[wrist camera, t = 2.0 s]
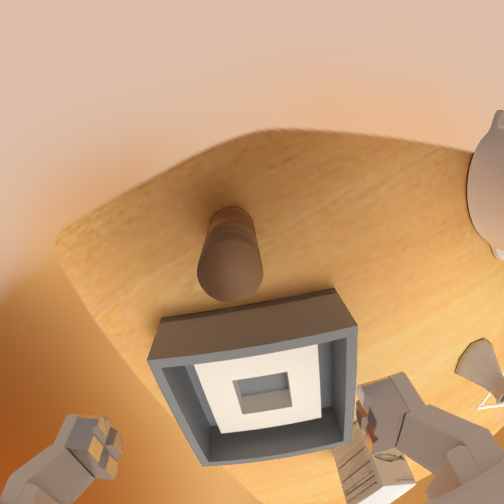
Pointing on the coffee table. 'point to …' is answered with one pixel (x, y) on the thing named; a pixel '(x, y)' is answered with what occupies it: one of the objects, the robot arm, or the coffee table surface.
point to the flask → (482, 368)
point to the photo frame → (489, 404)
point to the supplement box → (371, 472)
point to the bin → (260, 377)
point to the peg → (230, 257)
